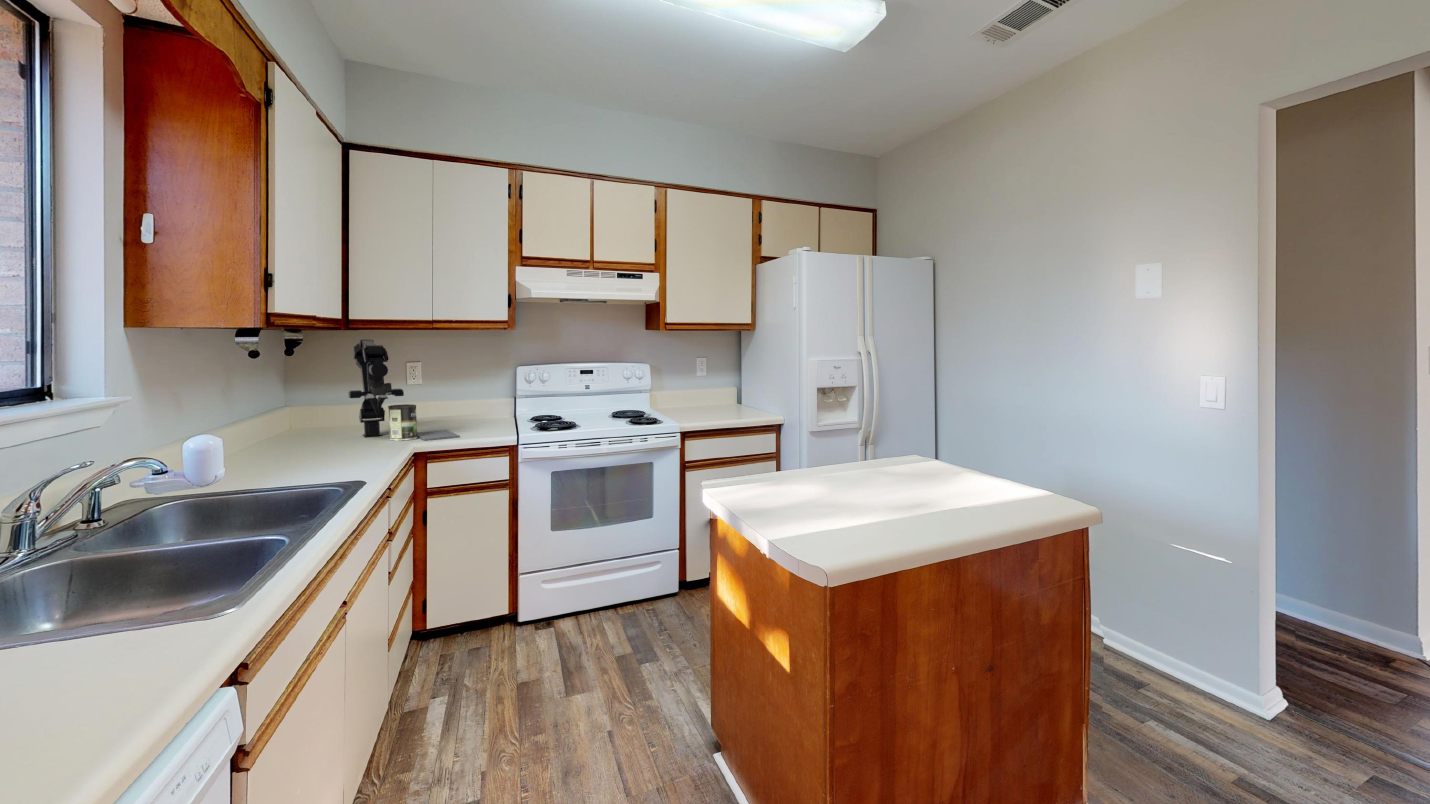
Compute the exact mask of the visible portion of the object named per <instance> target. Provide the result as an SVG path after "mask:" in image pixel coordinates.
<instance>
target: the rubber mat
mask: <svg viewBox="0 0 1430 804" xmlns="http://www.w3.org/2000/svg"><path fill="white" fill-rule="evenodd" d="M417 437H418V438H419V439H420V440H422V441H435V440H437V441H438V440H447V439H456V438H457V439H458V438H459V439H460V438H461V436H460V435H459V434H457V433H455V432H453V431H451V430H449V429H441V430H429V431H417ZM418 438H417V439H418Z"/></svg>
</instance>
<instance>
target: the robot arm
mask: <svg viewBox="0 0 1430 804" xmlns="http://www.w3.org/2000/svg"><path fill="white" fill-rule="evenodd" d="M352 356H353V357H352V358H353V360H354V361H355V365H356V366H357V367H358V368H359V369H360V372H361V373H360V375H361V376H360V377H361V382H362V389H363V390H361V389H355V390H353V389H352V390H349V391H348V398H349V399H360V398H361V397H363V399H364V400H363V402H362V403H361V406H360V409H359V414H358V415H359V416H358V419H359V420H358V421H359V422H360V423H361V424H363V426H364V427H363V430H364V433H362V436H363V437H364V438H370V437H381V436H383V434H382V433H381V429H380V428H381V427H380V425H381V424H380V422H385V415H386V410H385V409H384V407H382V406H383V404H384V402H385V400H388V399H389V397H388V396H394V397H404V396H405V395H404V392H405V391H404V390H403V389H402V388H392V382H386V383H385V377H386V376H387V374H388V372H389V369H388V366H387V365H386V364H385V363H388V361H389V359H390V358H389V354H388V351H387V349H386V347H384V345H383V344H382V345H381V344H376V343H375V342H374V339H367V338H366V339H364V338H363V339H359V341H358V343H357V344H356V345H355V346H353V351H352Z"/></svg>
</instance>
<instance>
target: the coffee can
mask: <svg viewBox="0 0 1430 804" xmlns="http://www.w3.org/2000/svg"><path fill="white" fill-rule="evenodd" d="M387 408H388V420H389V421H388V423H389V440H390V441H395V442H401V441H402V440H405V441H412V440H417V439H418V437H417V432H418V424H417V423H418V422H417V419H418V418H417V405H416V404H407V403H405V404H393V405H392V404H391V405H388V406H387ZM402 442H403V441H402Z"/></svg>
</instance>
